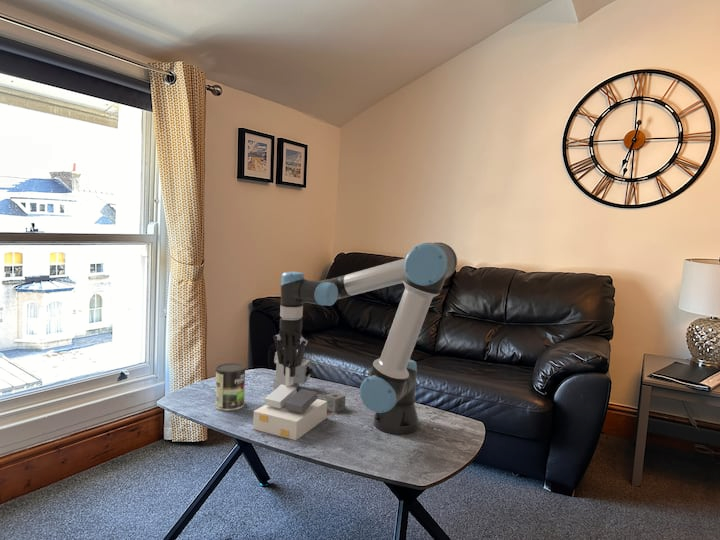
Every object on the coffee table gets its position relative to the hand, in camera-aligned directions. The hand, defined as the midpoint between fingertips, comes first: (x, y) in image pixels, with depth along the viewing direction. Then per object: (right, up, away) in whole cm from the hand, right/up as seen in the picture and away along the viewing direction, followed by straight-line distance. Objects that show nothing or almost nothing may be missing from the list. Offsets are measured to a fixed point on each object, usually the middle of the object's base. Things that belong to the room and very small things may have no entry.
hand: (289, 384), depth 169 cm
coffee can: (-22, -9, +8) cm, 26 cm away
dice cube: (+15, -11, +10) cm, 21 cm away
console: (+1, -12, -5) cm, 13 cm away
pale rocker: (-2, -4, -4) cm, 6 cm away
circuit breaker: (-2, -8, +29) cm, 30 cm away
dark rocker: (+5, -5, -7) cm, 10 cm away
